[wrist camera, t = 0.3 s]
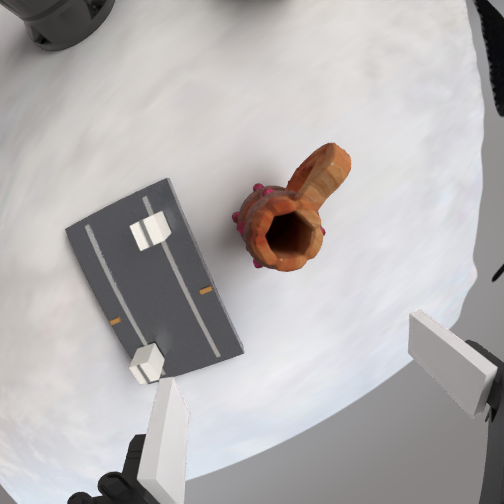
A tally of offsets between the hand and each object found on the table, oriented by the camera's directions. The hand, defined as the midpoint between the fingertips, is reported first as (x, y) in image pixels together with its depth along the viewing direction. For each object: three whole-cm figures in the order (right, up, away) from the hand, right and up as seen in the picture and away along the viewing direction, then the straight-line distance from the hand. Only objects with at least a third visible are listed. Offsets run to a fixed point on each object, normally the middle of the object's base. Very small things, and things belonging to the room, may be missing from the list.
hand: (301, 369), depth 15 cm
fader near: (-14, +9, +21) cm, 27 cm away
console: (-16, +1, +26) cm, 30 cm away
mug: (+1, +13, +25) cm, 28 cm away
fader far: (-17, -9, +25) cm, 32 cm away
